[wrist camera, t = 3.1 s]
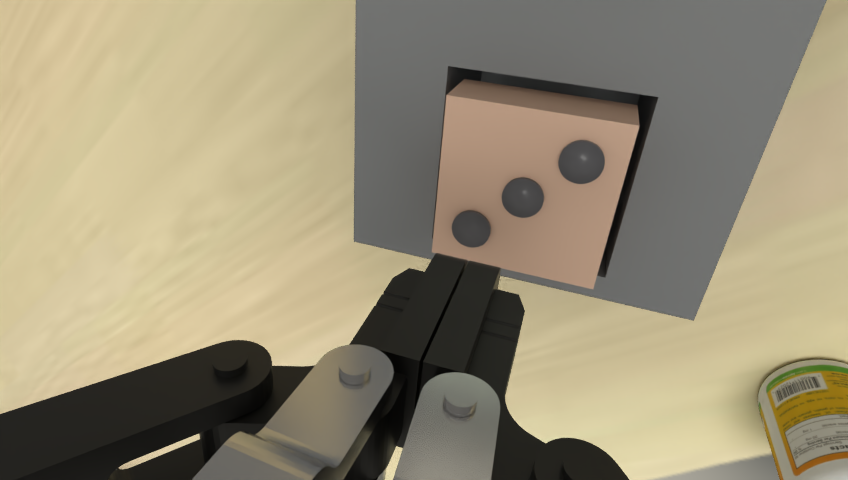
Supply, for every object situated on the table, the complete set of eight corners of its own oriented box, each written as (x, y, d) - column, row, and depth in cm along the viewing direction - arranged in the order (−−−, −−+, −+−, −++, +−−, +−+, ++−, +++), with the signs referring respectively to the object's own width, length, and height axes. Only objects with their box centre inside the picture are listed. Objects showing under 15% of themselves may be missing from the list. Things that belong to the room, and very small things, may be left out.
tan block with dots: (636, 96, 19) (639, 127, 16) (596, 242, 22) (592, 292, 19) (471, 72, 20) (444, 96, 17) (455, 213, 23) (430, 254, 20)
